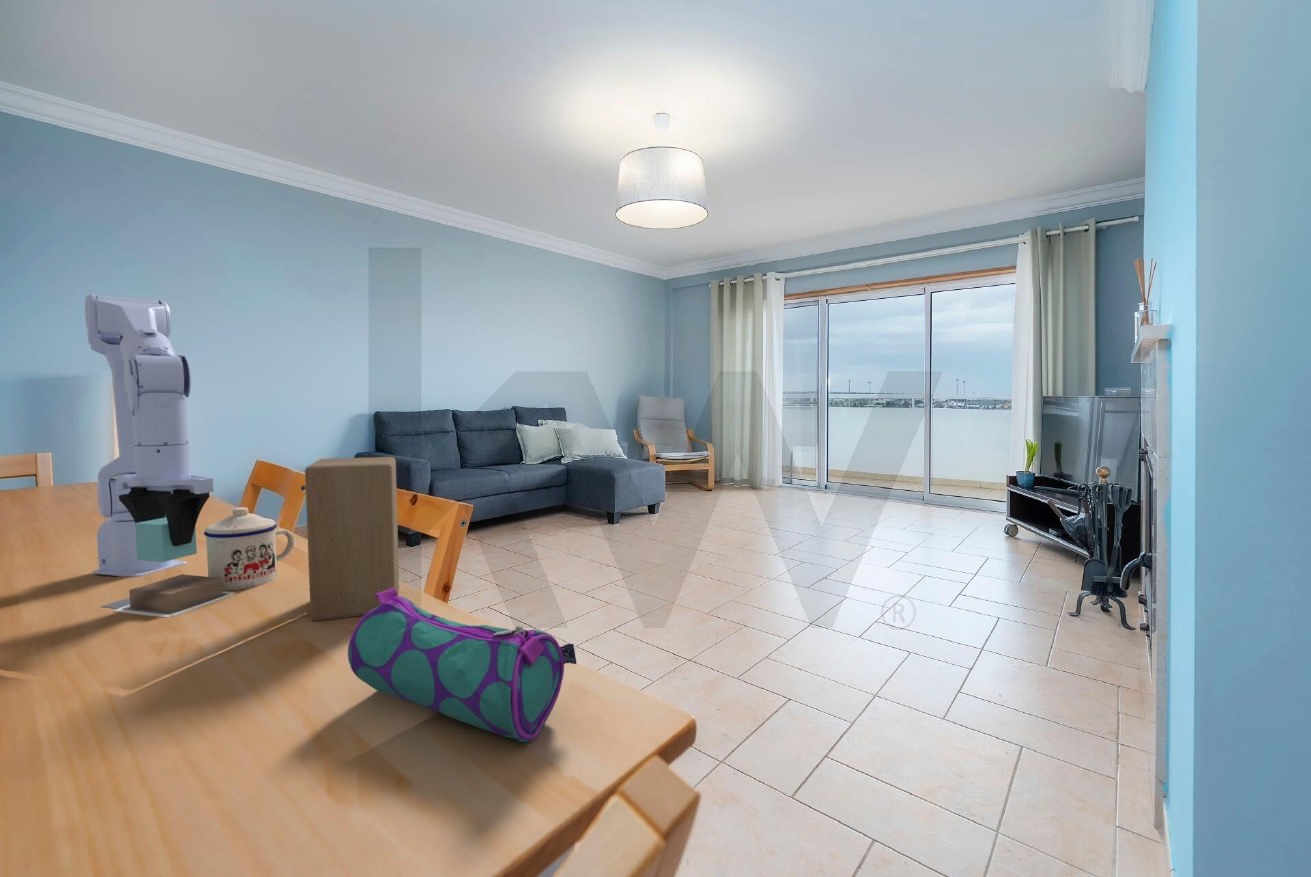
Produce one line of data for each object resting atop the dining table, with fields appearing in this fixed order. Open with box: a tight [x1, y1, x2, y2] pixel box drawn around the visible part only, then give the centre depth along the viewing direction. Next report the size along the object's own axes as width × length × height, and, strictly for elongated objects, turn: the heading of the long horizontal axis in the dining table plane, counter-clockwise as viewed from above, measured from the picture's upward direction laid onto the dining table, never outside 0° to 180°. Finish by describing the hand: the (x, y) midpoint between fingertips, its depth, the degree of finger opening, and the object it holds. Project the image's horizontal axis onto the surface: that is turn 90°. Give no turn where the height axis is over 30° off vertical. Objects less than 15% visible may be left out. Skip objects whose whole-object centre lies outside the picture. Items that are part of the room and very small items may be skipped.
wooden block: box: [304, 456, 400, 621], centre depth 81 cm, size 10×10×20 cm
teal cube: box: [135, 517, 197, 562], centre depth 81 cm, size 4×4×5 cm
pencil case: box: [347, 588, 577, 743], centre depth 55 cm, size 21×9×10 cm, turn 64°
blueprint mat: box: [100, 590, 237, 619], centre depth 82 cm, size 13×10×1 cm
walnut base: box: [128, 573, 223, 613], centre depth 82 cm, size 7×7×2 cm
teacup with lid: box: [203, 506, 295, 591], centre depth 92 cm, size 12×9×12 cm
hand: (167, 543), depth 81 cm, fingers closed on teal cube, 4 cm apart
